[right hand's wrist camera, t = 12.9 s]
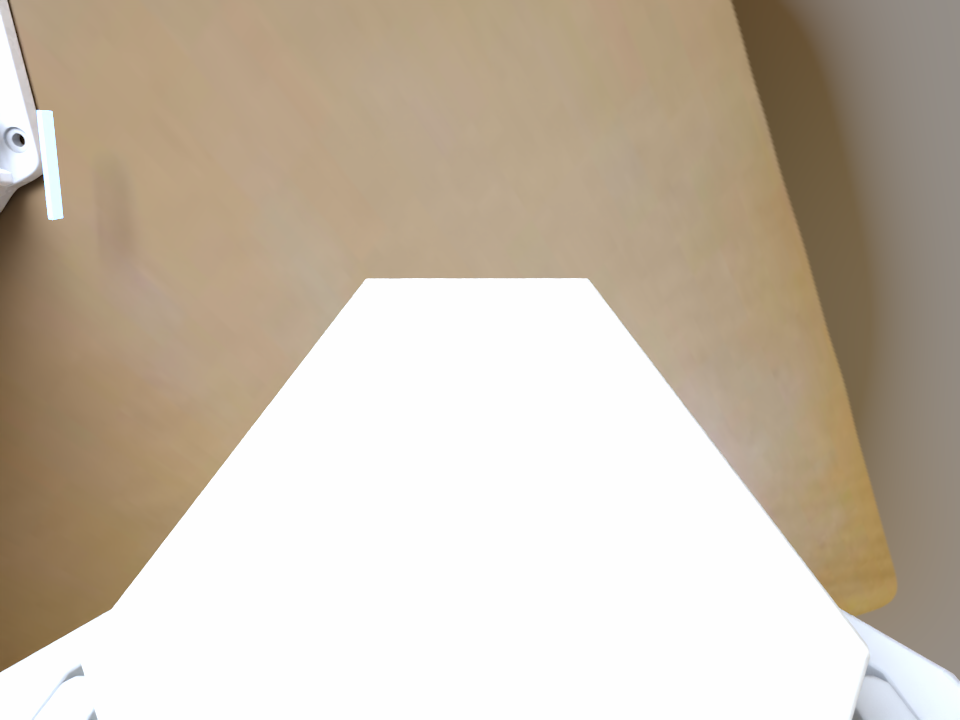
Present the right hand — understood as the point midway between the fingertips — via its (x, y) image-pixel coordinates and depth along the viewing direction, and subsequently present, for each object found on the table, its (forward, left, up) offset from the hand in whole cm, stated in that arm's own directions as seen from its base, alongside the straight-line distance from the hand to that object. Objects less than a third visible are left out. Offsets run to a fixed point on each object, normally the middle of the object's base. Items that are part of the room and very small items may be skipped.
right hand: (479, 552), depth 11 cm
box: (+9, +1, -7) cm, 12 cm away
